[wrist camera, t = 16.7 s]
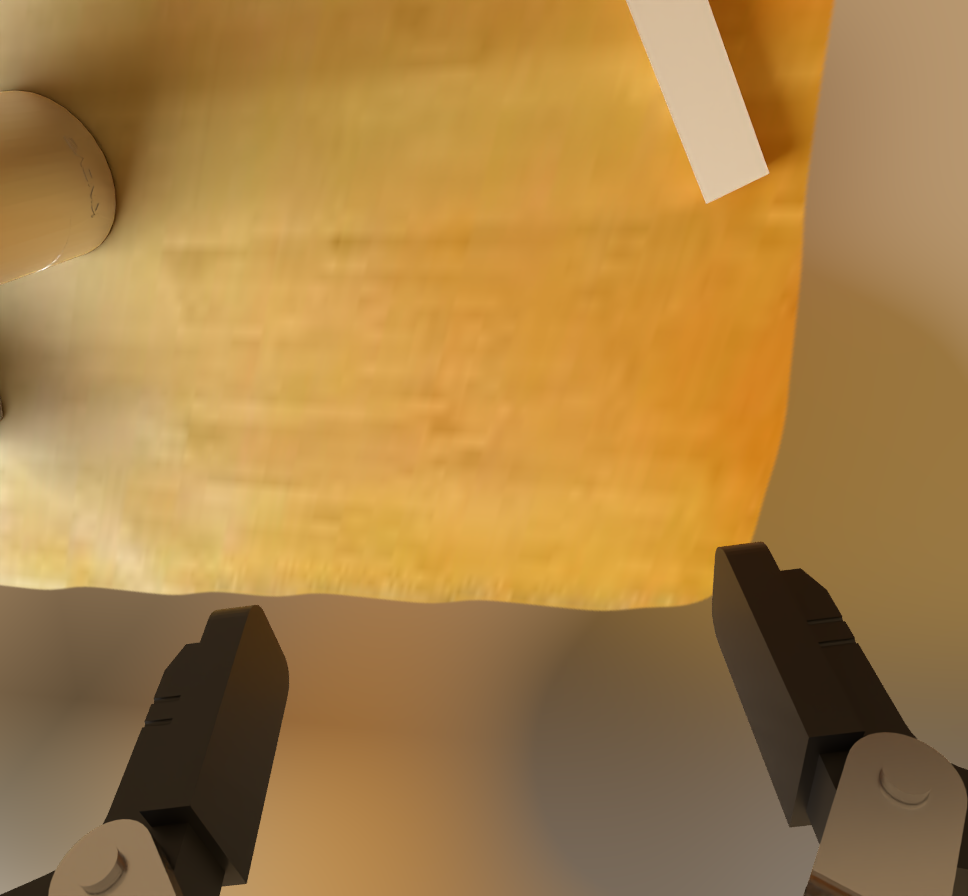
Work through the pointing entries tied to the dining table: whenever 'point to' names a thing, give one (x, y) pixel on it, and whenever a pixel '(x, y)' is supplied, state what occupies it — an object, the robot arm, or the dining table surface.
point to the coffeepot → (0, 413)
